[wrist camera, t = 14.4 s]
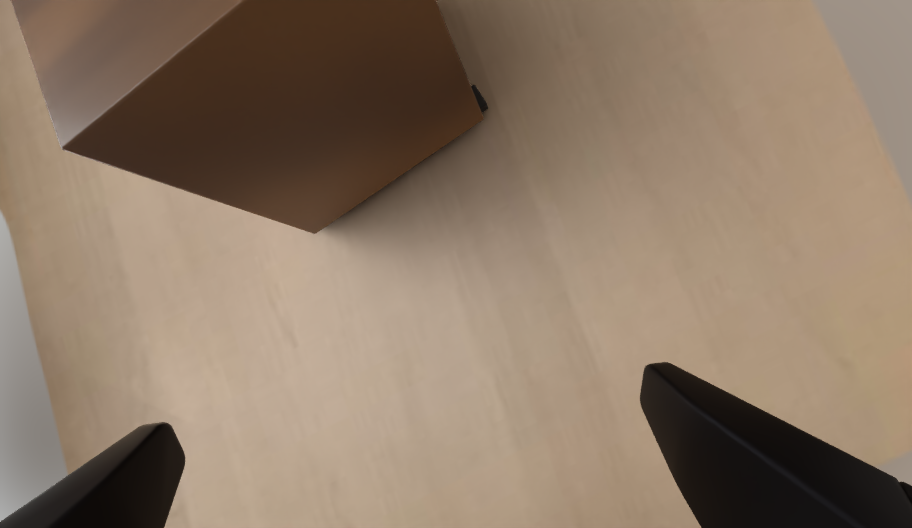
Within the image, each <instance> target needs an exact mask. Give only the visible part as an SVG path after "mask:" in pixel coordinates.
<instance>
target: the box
mask: <svg viewBox="0 0 912 528" xmlns="http://www.w3.org/2000/svg"><path fill="white" fill-rule="evenodd" d="M11 3H12V6H13V9H14V12H15V15H16V17H17V20H18V23H19V26H20V29H21V32H22V35H23V38H24V41H25V44H26V47H27V50H28V53H29V56H30V59H31V62H32V64H33V67H34V70H35V73H36V76H37V79H38V82H39V85H40V88H41V91H42V94H43V97H44V100H45V103H46V106H47V109H48V111H49V114H50V117H51V120H52V123H53V126H54V129H55V132H56V135H57V138H58V141H59V144H60V147H61V148H62V149H63V150H64V151H67V152H71V153H74V154H77V155H80V156H83V157H86V158H89V159H92V160H95V161H98V162H101V163H104V164H107V165H110V166H113V167H116V168H119V169H122V170H125V171H128V172H131V173H134V174H137V175H140V176H143V177H146V178H149V179H152V180H155V181H158V182H161V183H164V184H167V185H170V186H173V187H176V188H179V189H182V190H185V191H188V192H191V193H194V194H197V195H200V196H203V197H206V198H209V199H212V200H215V201H218V202H221V203H224V204H227V205H230V206H233V207H236V208H239V209H242V210H245V211H248V212H251V213H254V214H257V215H260V216H263V217H266V218H269V219H272V220H275V221H278V222H281V223H284V224H287V225H290V226H293V227H296V228H299V229H302V230H305V231H308V232H311V233H314V234H315V233H317V232H318V231H320V230H321V229H323V228H324V227H326V226H327V225H329V224H330V223H332V222H333V221H335V220H336V219H338V218H339V217H341V216H342V215H343V214H345V213H346V212H348V211H349V210H351V209H352V208H354V207H355V206H357V205H358V204H360V203H361V202H363V201H364V200H365V199H367V198H368V197H370V196H371V195H373V194H374V193H376V192H377V191H379V190H380V189H382V188H383V187H385V186H386V185H387V184H389V183H390V182H392V181H393V180H395V179H396V178H398V177H399V176H401V175H402V174H404V173H405V172H407V171H408V170H410V169H411V168H412V167H414V166H415V165H417V164H418V163H420V162H421V161H423V160H424V159H426V158H427V157H429V156H430V155H432V154H433V153H434V152H436V151H437V150H439V149H440V148H442V147H443V146H445V145H446V144H448V143H449V142H451V141H452V140H454V139H455V138H456V137H458V136H459V135H461V134H462V133H464V132H465V131H467V130H468V129H470V128H471V127H473V126H474V125H476V124H477V123H479V122H480V121H481V120H483V119H484V117H483V115H482V112H481V110H480V107H479V105H478V102H477V100H476V98H475V95H474V93H473V90H472V88H471V85H470V83H469V80H468V78H467V76H466V73H465V71H464V68H463V66H462V63H461V61H460V58H459V56H458V53H457V51H456V49H455V46H454V44H453V41H452V39H451V36H450V34H449V31H448V29H447V26H446V24H445V22H444V19H443V17H442V14H441V12H440V9H439V7H438V4H437V2H436V0H11Z"/></svg>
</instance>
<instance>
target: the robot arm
mask: <svg viewBox="0 0 912 528" xmlns="http://www.w3.org/2000/svg"><path fill="white" fill-rule="evenodd" d="M640 403H641V407H642V410H643V412H644V414H645V416H646V419H647V421H648V423H649V425H650V427H651V430H652V432H653V434H654V436H655V438H656V441H657V443H658V445H659V447H660V449H661V452H662V454H663V456H664V458H665V460H666V463H667V465H668V467H669V469H670V471H671V473H672V475H673V478H674V480H675V482H676V484H677V486H678V487H679V489H680V491H681V493H682V495H683V496H684V498H685V500H686V502H687V503H688V505H689V507H690V509H691V510H692V512H693V514H694V515H695V517H696V519H697V521H698V522H699V524H700V526H701V528H912V486H911V485H909V484H907V483H904V482H898V480H897V479H896V478H895V477H893V476H891V475H889V474H887V473H885V472H883V471H881V470H879V469H877V468H875V467H873V466H871V465H869V464H867V463H865V462H863V461H861V460H859V459H857V458H855V457H853V456H852V455H850V454H848V453H846V452H844V451H842V450H840V449H838V448H836V447H834V446H832V445H830V444H828V443H826V442H824V441H822V440H820V439H818V438H816V437H814V436H812V435H810V434H808V433H806V432H804V431H802V430H800V429H798V428H796V427H795V426H793V425H791V424H789V423H787V422H785V421H783V420H781V419H779V418H777V417H775V416H773V415H771V414H769V413H767V412H765V411H763V410H761V409H759V408H757V407H755V406H753V405H751V404H749V403H747V402H745V401H743V400H741V399H739V398H738V397H736V396H734V395H732V394H730V393H728V392H726V391H724V390H722V389H720V388H718V387H716V386H714V385H712V384H710V383H708V382H706V381H704V380H702V379H700V378H698V377H696V376H694V375H692V374H690V373H688V372H686V371H684V370H682V369H681V368H679V367H677V366H675V365H673V364H670V363H667V362H662V363H654V364H649V365H647V366H646V367H645V369H644V373H643V380H642V386H641V393H640ZM184 466H185V454H184V451H183V449H182V447H181V445H180V443H179V441H178V439H177V436H176V434H175V432H174V430H173V428H172V426H171V425H170V424H168V423H165V422H161V423H153V424H146V425H142V426H140V427H138V428H137V429H135V430H134V431H132V432H131V433H129V434H128V435H126V436H125V437H124V438H122V439H121V440H119V441H118V442H116V443H115V444H113V445H112V446H110V447H109V448H107V449H106V450H105V451H103V452H102V453H100V454H99V455H97V456H96V457H94V458H93V459H91V460H90V461H88V462H87V463H86V464H84V465H83V466H81V467H80V468H78V469H77V470H75V471H74V472H72V473H71V474H69V475H68V476H67V477H65V478H64V479H63V480H61V481H59V482H58V483H56V484H55V485H53V486H52V487H50V488H49V489H48V490H46V491H45V492H43V493H42V494H40V495H39V496H37V497H36V498H34V499H33V500H31V501H30V502H29V503H27V504H26V505H24V506H23V507H21V508H20V509H18V510H17V511H16V512H14V513H12V514H11V515H9V516H8V517H7V518H5V519H4V520H2V521H1V522H0V528H164V526H165V523H166V520H167V517H168V514H169V511H170V508H171V505H172V502H173V499H174V496H175V494H176V491H177V488H178V485H179V482H180V479H181V476H182V473H183V470H184Z"/></svg>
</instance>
